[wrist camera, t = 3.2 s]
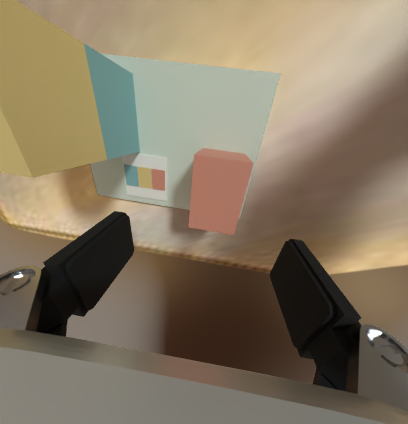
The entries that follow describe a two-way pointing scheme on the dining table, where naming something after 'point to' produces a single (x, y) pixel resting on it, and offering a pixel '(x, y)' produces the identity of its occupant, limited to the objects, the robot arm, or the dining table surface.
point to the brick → (218, 189)
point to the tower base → (59, 98)
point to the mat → (189, 120)
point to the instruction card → (145, 176)
